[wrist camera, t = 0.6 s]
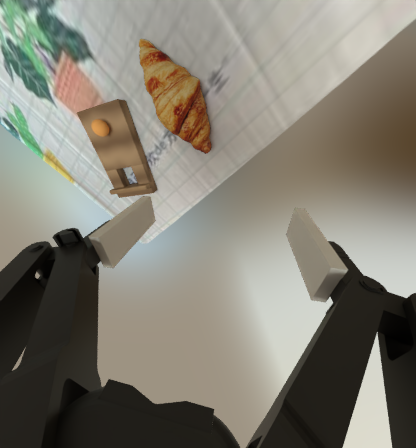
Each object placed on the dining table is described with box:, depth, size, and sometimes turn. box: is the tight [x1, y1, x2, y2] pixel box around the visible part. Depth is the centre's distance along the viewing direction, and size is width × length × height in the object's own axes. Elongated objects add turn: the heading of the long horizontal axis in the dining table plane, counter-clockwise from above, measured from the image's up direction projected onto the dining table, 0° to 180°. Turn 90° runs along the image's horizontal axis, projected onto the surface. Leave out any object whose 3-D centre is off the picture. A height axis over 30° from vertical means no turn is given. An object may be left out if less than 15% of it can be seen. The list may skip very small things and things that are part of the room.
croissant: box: [139, 39, 211, 154], centre depth 30 cm, size 21×10×8 cm, turn 36°
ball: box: [91, 119, 109, 137], centre depth 34 cm, size 3×3×3 cm
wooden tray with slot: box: [77, 99, 157, 198], centre depth 38 cm, size 20×11×4 cm, turn 11°
